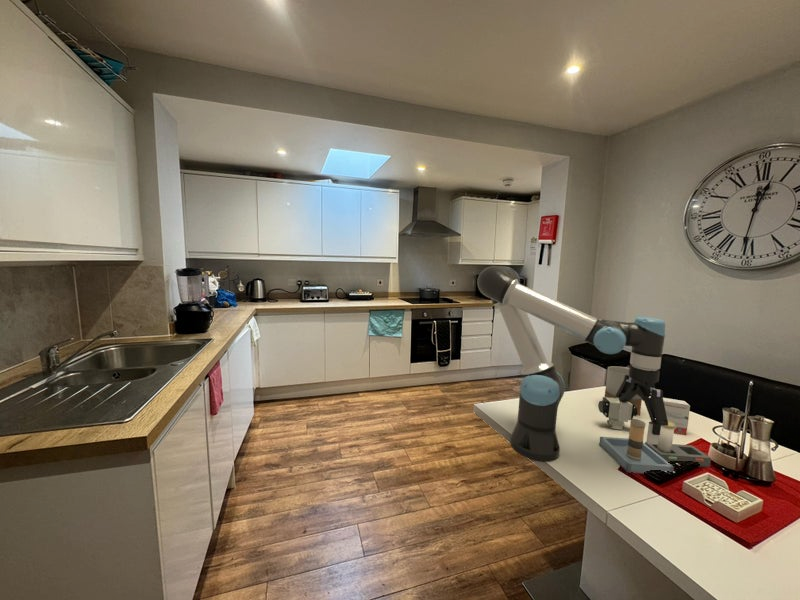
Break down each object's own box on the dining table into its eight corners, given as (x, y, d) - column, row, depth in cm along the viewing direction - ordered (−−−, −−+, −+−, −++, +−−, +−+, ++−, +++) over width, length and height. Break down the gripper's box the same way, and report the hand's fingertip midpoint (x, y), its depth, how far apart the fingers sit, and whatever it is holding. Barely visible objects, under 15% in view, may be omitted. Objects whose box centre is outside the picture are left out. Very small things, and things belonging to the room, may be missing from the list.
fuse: (660, 460, 101) (665, 425, 100) (652, 453, 105) (656, 419, 103) (673, 461, 101) (678, 426, 99) (664, 454, 104) (669, 420, 103)
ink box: (681, 429, 122) (685, 400, 121) (686, 435, 117) (691, 405, 116) (653, 424, 125) (657, 395, 124) (657, 429, 121) (661, 400, 120)
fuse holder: (660, 464, 99) (661, 455, 99) (643, 450, 106) (645, 442, 106) (710, 467, 98) (712, 458, 98) (690, 453, 105) (692, 445, 105)
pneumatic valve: (635, 433, 118) (639, 402, 117) (601, 428, 120) (604, 398, 119) (627, 425, 123) (631, 396, 122) (595, 421, 126) (598, 392, 124)
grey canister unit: (604, 401, 146) (608, 364, 144) (639, 409, 138) (644, 370, 136) (602, 411, 135) (607, 371, 133) (640, 420, 128) (645, 378, 126)
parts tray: (627, 472, 94) (628, 463, 94) (599, 444, 109) (600, 436, 109) (672, 475, 94) (673, 466, 93) (638, 447, 108) (639, 439, 108)
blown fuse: (631, 460, 100) (635, 424, 98) (623, 453, 103) (627, 418, 102) (643, 461, 99) (648, 425, 98) (635, 454, 103) (640, 419, 102)
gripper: (691, 382, 85) (680, 455, 88) (630, 356, 110) (623, 414, 113) (662, 380, 86) (652, 453, 88) (608, 355, 111) (602, 412, 113)
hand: (636, 431), depth 100 cm, fingers open, 13 cm apart
